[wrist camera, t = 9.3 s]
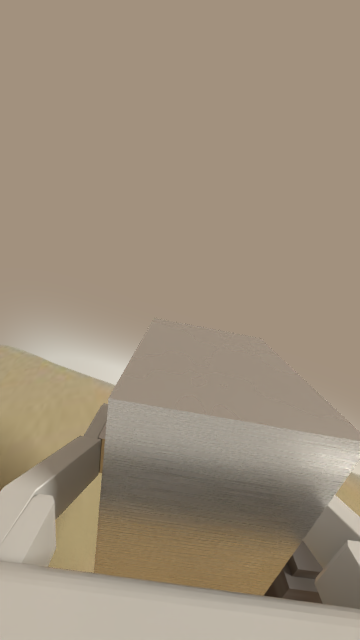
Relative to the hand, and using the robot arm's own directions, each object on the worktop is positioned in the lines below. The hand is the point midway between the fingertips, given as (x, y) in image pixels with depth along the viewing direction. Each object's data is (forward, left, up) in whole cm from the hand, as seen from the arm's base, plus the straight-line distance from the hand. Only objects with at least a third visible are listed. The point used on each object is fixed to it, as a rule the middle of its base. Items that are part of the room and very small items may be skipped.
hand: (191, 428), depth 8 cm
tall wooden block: (0, -1, -5) cm, 6 cm away
